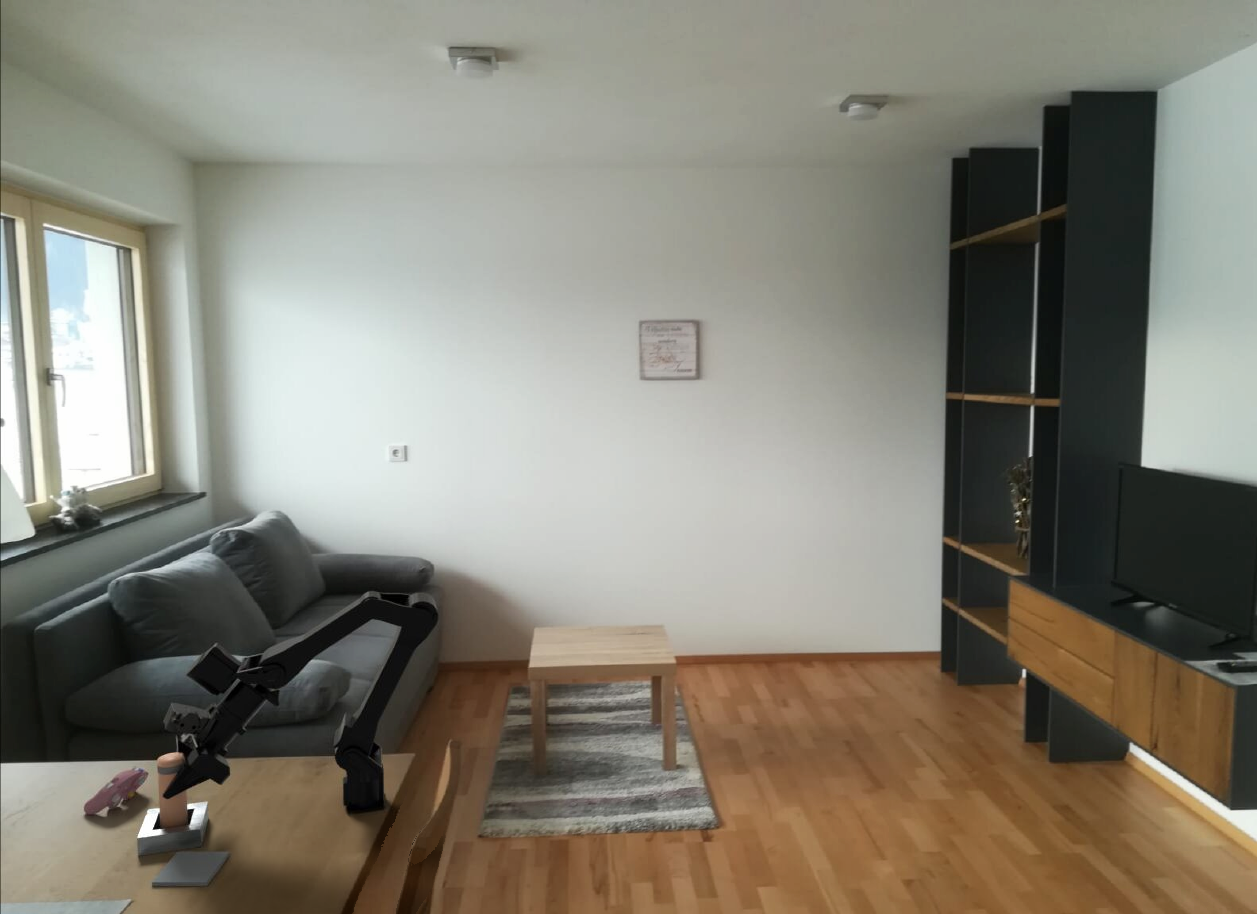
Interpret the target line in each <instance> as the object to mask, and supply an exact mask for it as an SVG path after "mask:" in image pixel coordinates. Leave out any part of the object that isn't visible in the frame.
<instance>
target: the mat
mask: <svg viewBox="0 0 1257 914" xmlns="http://www.w3.org/2000/svg"><path fill="white" fill-rule="evenodd" d="M229 857H230V851H177V852H176V853H175V854H174V855H173V857H171V858H170V860H169V861H168V862H167V864H166V865H165V866H164V867H163V868H162V870H161V871H160V872H159V873H157V875H156V877H155V878H154V879H153V880H152V881H151V887H207V886H208V885H209V884H210V883H211V881H212V880H213V878H214V877H215V875H216V874H217V873H218V871H219V870H220V869H221V867H222V866H223V864H224V863H225V862H226V861H227V859H228V858H229Z"/></svg>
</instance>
